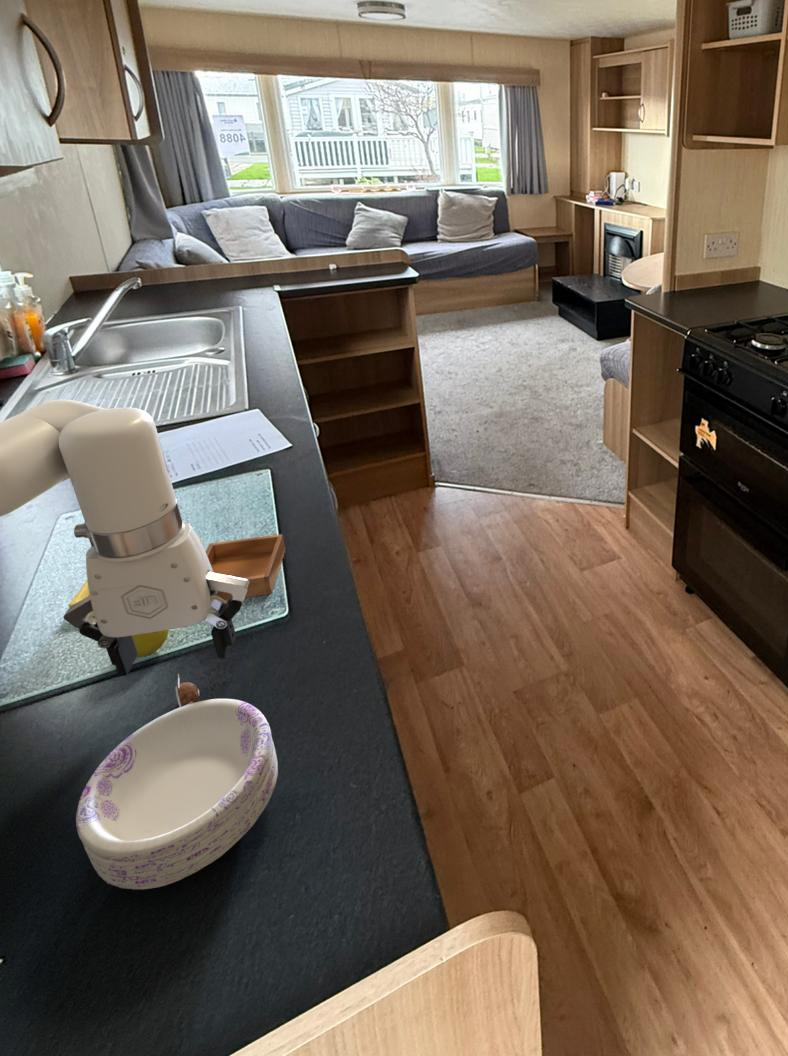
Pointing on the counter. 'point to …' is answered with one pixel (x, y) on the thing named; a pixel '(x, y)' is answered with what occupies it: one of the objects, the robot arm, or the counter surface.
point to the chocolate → (186, 693)
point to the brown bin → (249, 562)
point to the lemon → (149, 642)
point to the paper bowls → (177, 793)
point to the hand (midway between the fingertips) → (178, 657)
